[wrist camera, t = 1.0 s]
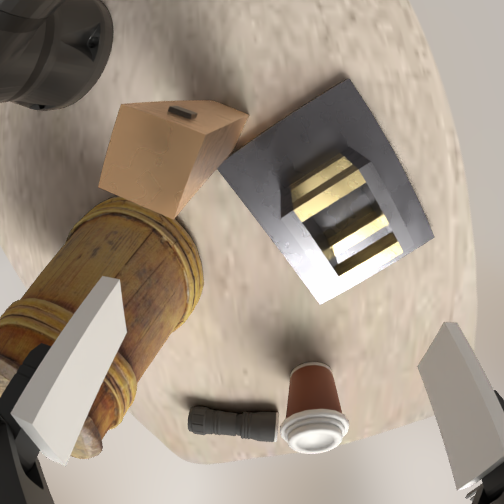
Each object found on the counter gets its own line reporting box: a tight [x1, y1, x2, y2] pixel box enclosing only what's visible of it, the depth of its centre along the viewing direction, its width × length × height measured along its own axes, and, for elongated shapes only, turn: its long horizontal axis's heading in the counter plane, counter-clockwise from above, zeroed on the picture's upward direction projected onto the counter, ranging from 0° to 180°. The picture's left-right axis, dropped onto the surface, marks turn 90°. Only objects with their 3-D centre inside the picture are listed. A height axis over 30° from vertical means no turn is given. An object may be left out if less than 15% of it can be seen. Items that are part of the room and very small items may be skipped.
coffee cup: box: [280, 362, 349, 454], centre depth 40 cm, size 9×9×12 cm
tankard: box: [0, 196, 204, 459], centre depth 28 cm, size 18×24×25 cm
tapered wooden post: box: [98, 100, 249, 220], centre depth 22 cm, size 4×4×20 cm
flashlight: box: [188, 406, 279, 442], centre depth 49 cm, size 15×5×5 cm, turn 90°
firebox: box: [217, 79, 434, 304], centre depth 29 cm, size 20×16×9 cm
